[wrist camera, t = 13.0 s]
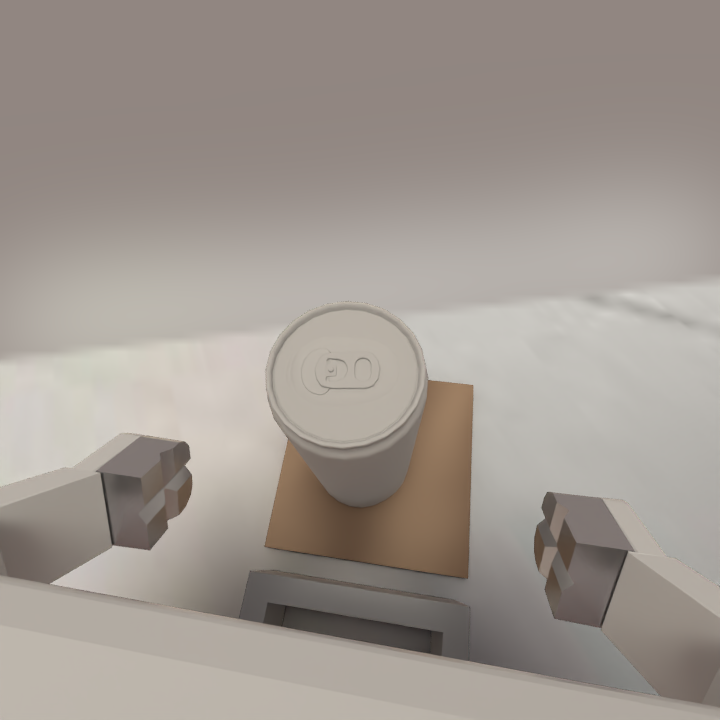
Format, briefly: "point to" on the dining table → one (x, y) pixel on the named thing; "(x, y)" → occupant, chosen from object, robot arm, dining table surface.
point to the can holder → (359, 607)
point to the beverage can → (349, 397)
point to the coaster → (391, 500)
